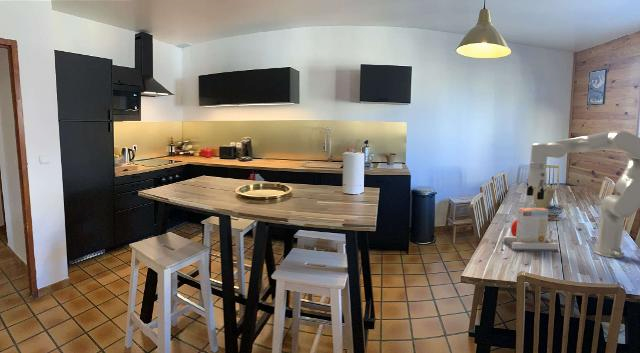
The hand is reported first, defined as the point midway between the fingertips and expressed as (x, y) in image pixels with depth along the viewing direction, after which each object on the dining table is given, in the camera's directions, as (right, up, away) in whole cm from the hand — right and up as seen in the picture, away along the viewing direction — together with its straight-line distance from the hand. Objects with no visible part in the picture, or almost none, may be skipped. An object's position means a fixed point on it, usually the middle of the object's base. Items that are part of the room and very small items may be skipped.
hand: (534, 197), depth 194 cm
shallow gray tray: (0, -28, +5) cm, 28 cm away
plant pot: (+62, -14, +93) cm, 113 cm away
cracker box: (0, -27, +4) cm, 28 cm away
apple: (+1, -26, +16) cm, 31 cm away
